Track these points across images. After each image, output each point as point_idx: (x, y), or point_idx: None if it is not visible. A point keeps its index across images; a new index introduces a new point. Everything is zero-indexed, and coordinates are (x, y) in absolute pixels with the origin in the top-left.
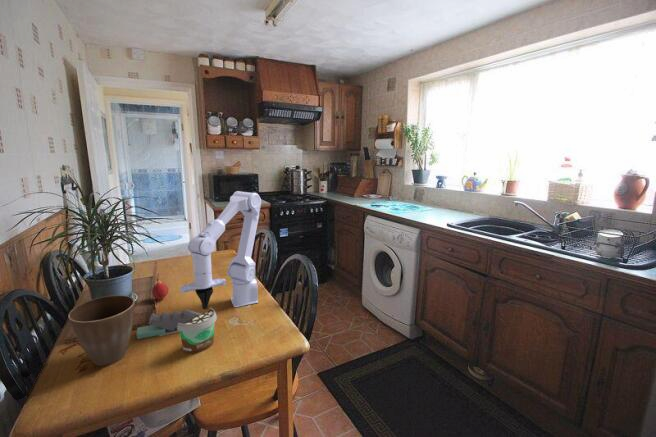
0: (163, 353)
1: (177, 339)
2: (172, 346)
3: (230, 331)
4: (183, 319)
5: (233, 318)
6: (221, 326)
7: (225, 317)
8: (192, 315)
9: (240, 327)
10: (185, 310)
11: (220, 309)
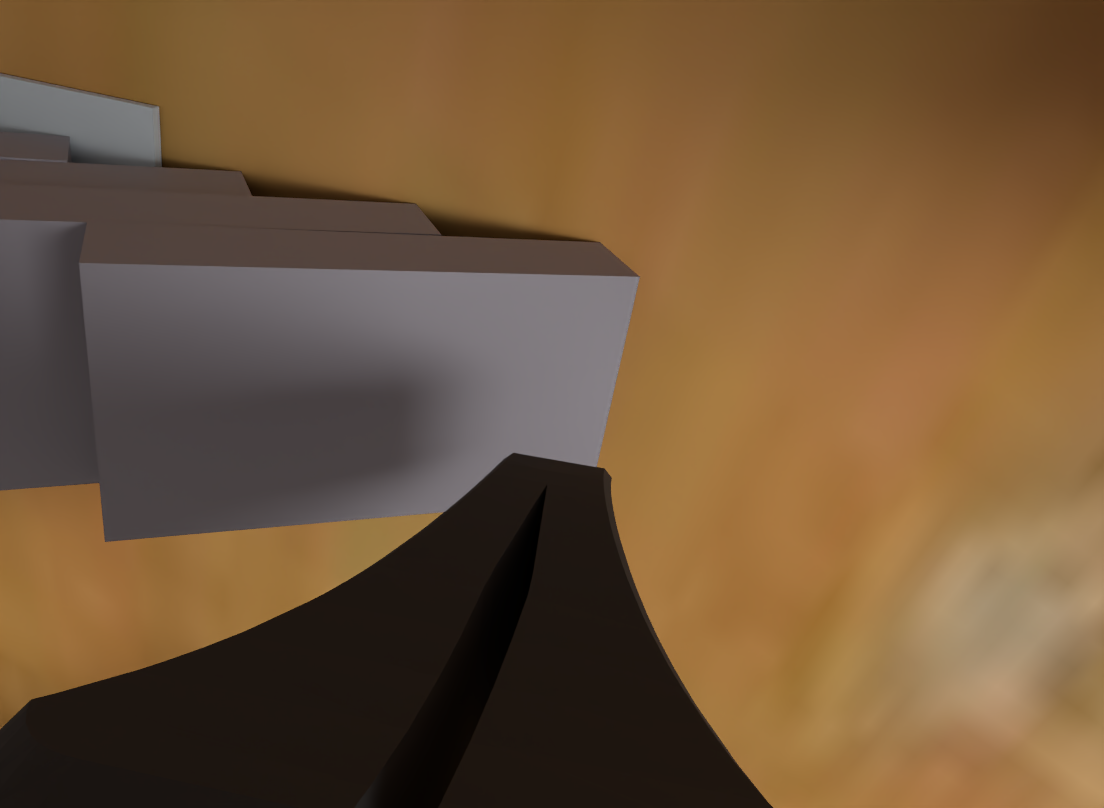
0: (23, 686)
1: (152, 546)
2: (102, 636)
3: (797, 788)
4: None
5: (1056, 541)
6: (756, 625)
7: (965, 425)
8: (291, 475)
9: (965, 797)
10: (116, 348)
11: (1100, 12)
